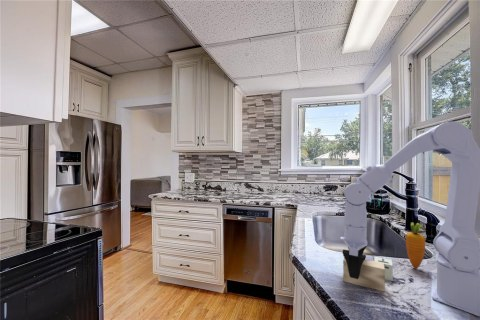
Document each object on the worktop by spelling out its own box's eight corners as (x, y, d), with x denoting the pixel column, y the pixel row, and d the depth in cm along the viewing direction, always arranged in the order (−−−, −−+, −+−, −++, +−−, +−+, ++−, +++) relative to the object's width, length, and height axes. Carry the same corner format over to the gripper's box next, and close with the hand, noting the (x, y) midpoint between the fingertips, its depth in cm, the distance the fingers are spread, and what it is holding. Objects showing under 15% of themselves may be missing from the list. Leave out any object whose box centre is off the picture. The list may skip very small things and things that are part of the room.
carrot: (406, 263, 75) (406, 219, 75) (425, 268, 71) (425, 222, 72) (405, 269, 71) (405, 222, 71) (425, 274, 68) (425, 225, 68)
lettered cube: (391, 274, 68) (391, 259, 68) (392, 281, 64) (392, 265, 64) (374, 270, 70) (374, 255, 70) (374, 277, 66) (374, 261, 66)
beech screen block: (383, 284, 62) (383, 263, 62) (384, 292, 58) (384, 269, 58) (344, 275, 67) (344, 255, 67) (343, 281, 63) (343, 260, 63)
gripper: (343, 217, 72) (342, 259, 72) (336, 228, 60) (336, 279, 60) (367, 220, 68) (367, 264, 68) (366, 233, 56) (366, 287, 56)
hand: (355, 271), depth 64 cm, fingers open, 7 cm apart
